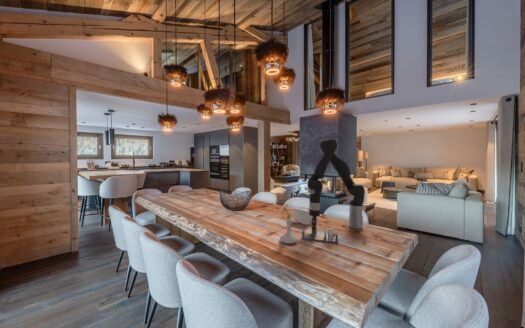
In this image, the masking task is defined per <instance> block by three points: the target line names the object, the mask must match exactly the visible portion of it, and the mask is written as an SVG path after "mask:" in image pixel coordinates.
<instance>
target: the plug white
mask: <svg viewBox="0 0 525 328" xmlns="http://www.w3.org/2000/svg"><path fill="white" fill-rule="evenodd" d="M334 234H335V228H334V227H328V228H327V238H328V240H331V241H332V240H334V238H335V237H334V236H335V235H334Z"/></svg>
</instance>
